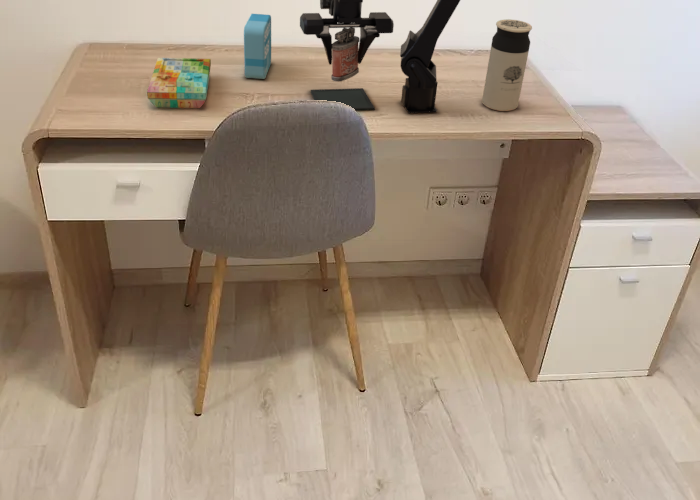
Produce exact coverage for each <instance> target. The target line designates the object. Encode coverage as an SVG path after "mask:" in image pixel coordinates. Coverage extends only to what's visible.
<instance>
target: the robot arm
mask: <svg viewBox="0 0 700 500" xmlns="http://www.w3.org/2000/svg"><path fill="white" fill-rule="evenodd" d="M363 2H364V0H319V6H320V7H319V8H320V10H328V14H329V15H330V16H331V17H324V18H323V17H322V16H321V14H320V12H303V13H302V14H301V15H300V16H299V27H300V30H301V31H302V34H303V35H307V36H311V35H312V36H313V35H314V36H316V38H317V39H320V40H321V42H322V45H323V48H324V51H325V54H326V58H327V63H328V65H329V66H332V43H333V38H332V34H331V33H330V29H343V28H355V29H357V28H359V33H360V34H359V42H358V65H361V63H362V62H363V60H364V58H365V55H366V53H367V52H368V50H369V48H370V46H371V45H372V43H373V42H374V41H375V39H376V38H379V37H380V35H381V34H392V33H394V27H395V24H394V20H393V18H392V17H391V16H390V15H388V13H387V12H385V11H381V12H380V11H378V12H376V11H375V12H371V11H370V12H369V14H368V17H362V6H363V5H362V4H363ZM460 2H461V0H436V2H435V3H434V5H433V7H432V9H431V10H430V13H429V15H428V16H427V18H426V19H425V21H424V23H423V24H422V27H420V28H419V30H418V31H417V32H414V31H412V30H409V31H408V35H407V37H406V39H405V41H404V42H403V43H402V44H401V45H400V53H399V56H400V69H401V71H402V73H403V74H404V76H406V77H405V81H404V85H402V89H401V97H400V103H401V106H402V107H403V108H404V109H405V111H406V112H407V114H432V113H433V114H434V113H437V112H438V109H437V108H436V107H435V106H436V99H437V90H438V84H439V83H438V81H437V65H436V64H435V63H434V61H433V60H432V58H433V55H434V52H435V49H436V46H437V42H438V40H439V38H440V37H441V35H442V34H443V32H444V29H445V28H446V27H447V24H448V23H449V22H450V19H451V17H452V15H453V14H454V12H455V11H456V9H457V7H458V6H459V4H460ZM380 38H381V37H380Z"/></svg>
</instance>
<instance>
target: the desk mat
mask: <svg viewBox="0 0 700 500" xmlns="http://www.w3.org/2000/svg"><path fill="white" fill-rule="evenodd" d="M310 94H311V96H312V98H313V101H314V100H327V101H336V102H341V103H344V104H346V105H349V106H351V107H352V108H354V109H355V110H356V111H355V112H361V111H363V112H365V111H375V109H376V107H375V105H374V104H373V103H372V101H371V99H370V97H369V96H368V94H367V93H366V90H364V88H363V87H359V88H358V87H357V88H324V89H323V88H322V89H310Z"/></svg>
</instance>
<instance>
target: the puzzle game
mask: <svg viewBox="0 0 700 500" xmlns="http://www.w3.org/2000/svg"><path fill="white" fill-rule="evenodd" d="M211 67H212V59H211V58H188V57H187V58H186V57H157V59H156V62H155V66H154V69H153V72H152V75H151V78H150V81H149V85H148V88H147V91H146V95H147V99H148V100H149V102H150V103H151V104H152V105H153V106H154V107H156V108H170V109H171V108H172V109H173V108H174V109H179V108H181V109H184V108H185V109H200V108H201V107H202V106H204V103H205V102H206V100H207V96H208V89H209V88H208V87H209V80H210V74H211Z"/></svg>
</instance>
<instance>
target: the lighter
mask: <svg viewBox="0 0 700 500" xmlns="http://www.w3.org/2000/svg"><path fill="white" fill-rule="evenodd" d="M341 29H342V30H340V31H337V32H336V33H335V34H334V40H335V41H333V42H332V64H331V66H332V68H331V69H332V71H331V72H332V73H331V77H330V79H331V81H333V82H337V83H339V82H344V81H347V80H349V79H351V78H353V77H355V76H356V75H357V74H359V73H360V68H359V64H358V49H359V43H360V36H357V35H355V34H356V28H341Z"/></svg>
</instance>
